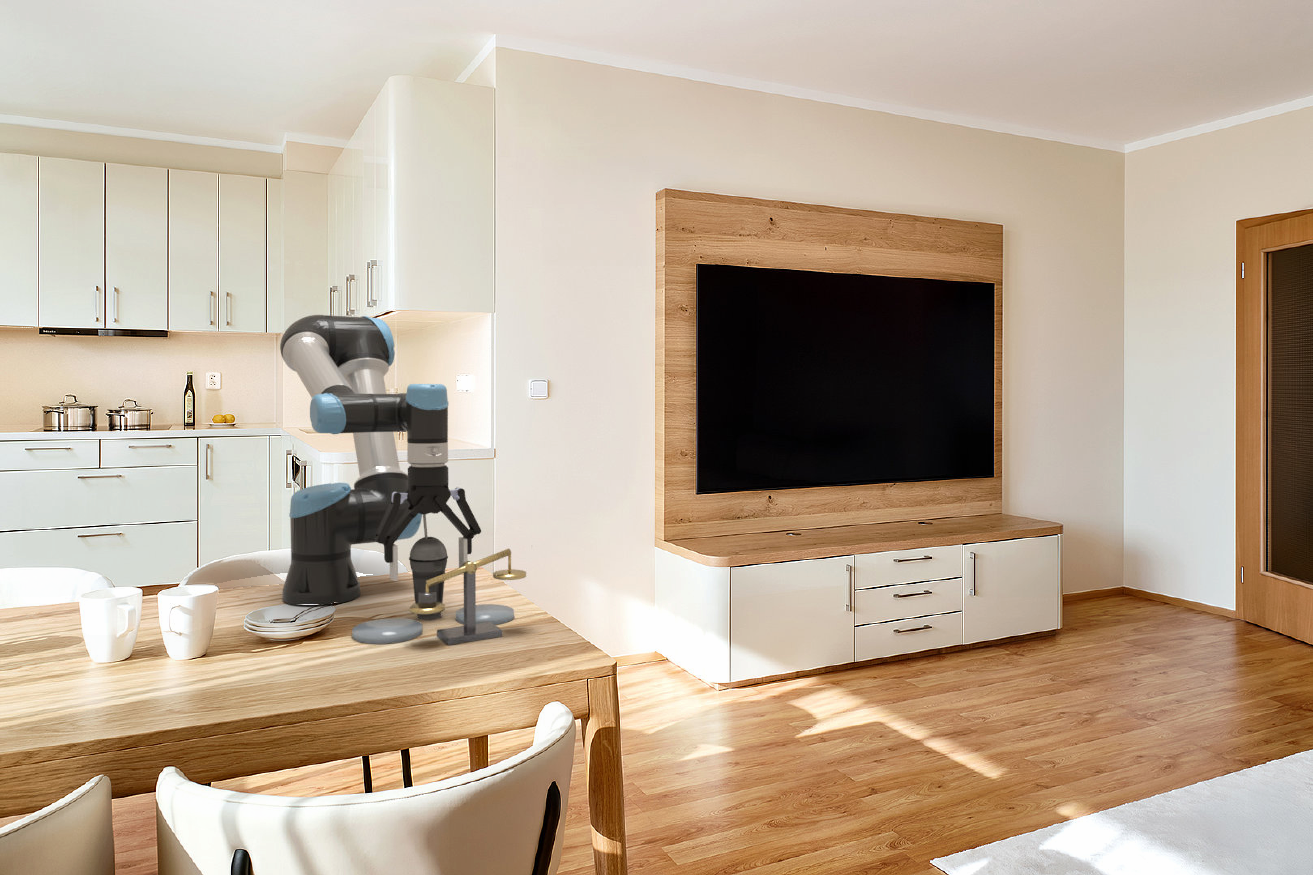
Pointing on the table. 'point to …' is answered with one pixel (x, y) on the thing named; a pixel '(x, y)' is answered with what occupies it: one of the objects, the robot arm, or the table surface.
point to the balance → (465, 601)
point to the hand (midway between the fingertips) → (429, 575)
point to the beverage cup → (428, 567)
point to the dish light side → (489, 614)
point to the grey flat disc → (387, 631)
